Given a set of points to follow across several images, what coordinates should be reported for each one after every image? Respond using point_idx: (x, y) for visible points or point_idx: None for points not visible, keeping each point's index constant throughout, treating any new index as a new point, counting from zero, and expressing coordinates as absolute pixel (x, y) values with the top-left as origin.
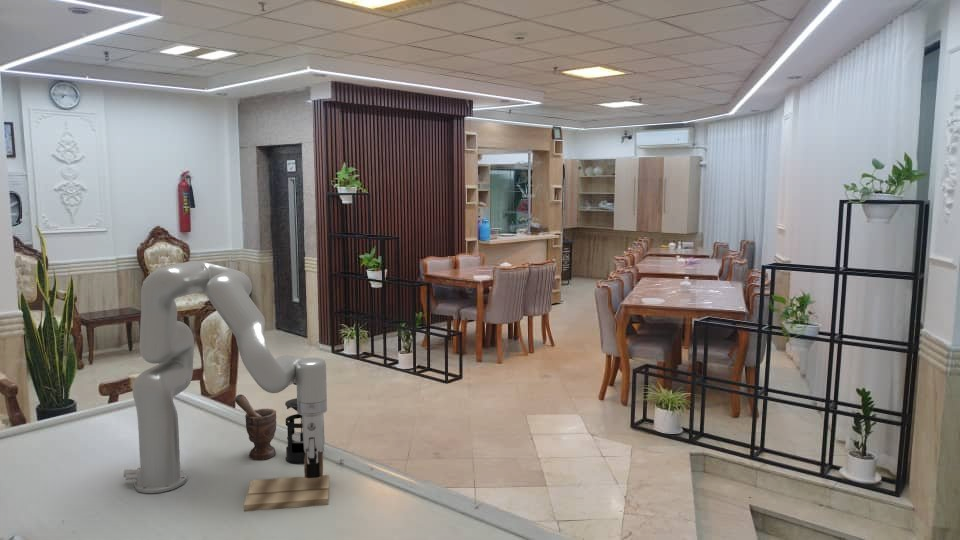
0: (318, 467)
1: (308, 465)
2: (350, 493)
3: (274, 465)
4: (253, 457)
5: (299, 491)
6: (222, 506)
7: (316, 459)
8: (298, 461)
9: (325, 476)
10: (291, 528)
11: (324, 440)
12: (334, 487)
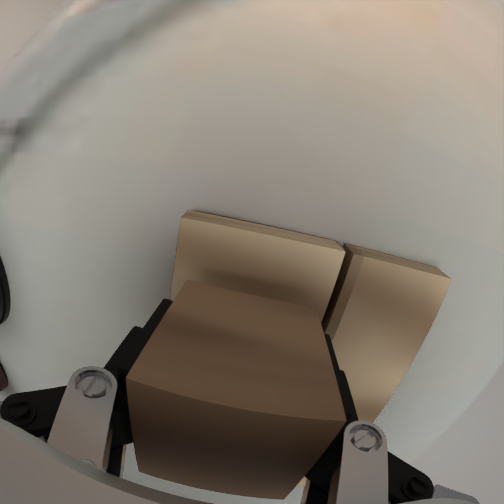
0: (338, 386)
1: None
2: (379, 132)
3: (23, 360)
4: (3, 388)
5: None
6: None
7: (378, 463)
8: (2, 300)
9: (194, 245)
10: (480, 381)
11: (25, 464)
12: (268, 193)
